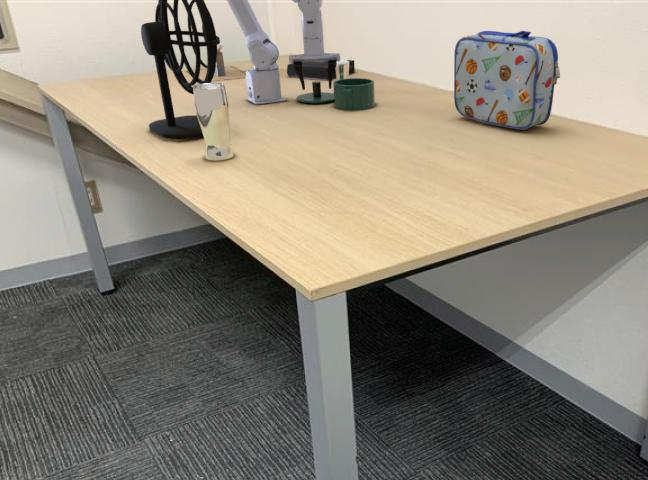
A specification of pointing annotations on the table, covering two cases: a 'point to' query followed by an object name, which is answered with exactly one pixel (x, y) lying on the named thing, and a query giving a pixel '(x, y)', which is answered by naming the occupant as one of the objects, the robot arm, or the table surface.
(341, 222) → the table surface
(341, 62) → the milkshake
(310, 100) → the lid
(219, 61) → the architectural model on board
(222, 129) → the beer glass
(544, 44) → the lunch box
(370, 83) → the tin
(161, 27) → the desk fan
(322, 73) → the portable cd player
